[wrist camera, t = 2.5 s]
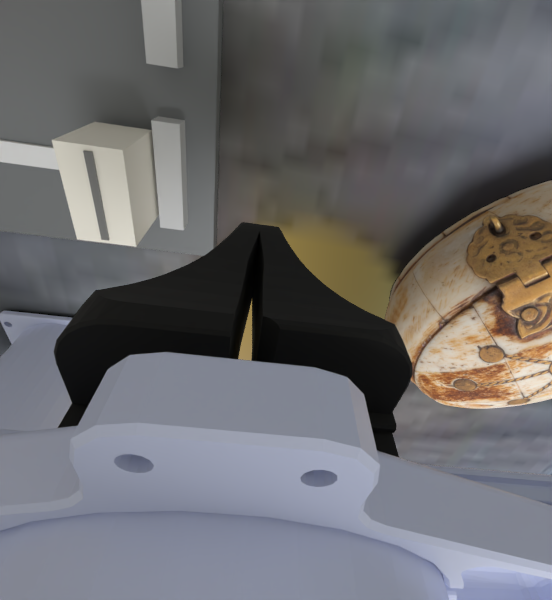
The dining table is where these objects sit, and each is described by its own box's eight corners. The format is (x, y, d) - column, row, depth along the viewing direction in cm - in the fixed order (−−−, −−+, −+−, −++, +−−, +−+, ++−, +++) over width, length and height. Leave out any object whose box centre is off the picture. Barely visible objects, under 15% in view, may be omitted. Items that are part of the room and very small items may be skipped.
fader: (159, 214, 17) (135, 247, 14) (110, 207, 17) (75, 240, 14) (152, 130, 15) (121, 150, 12) (94, 121, 15) (49, 140, 12)
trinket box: (695, 188, 18) (913, 266, 12) (504, 365, 27) (571, 463, 21) (483, 107, 16) (614, 149, 10) (351, 329, 25) (375, 426, 18)
